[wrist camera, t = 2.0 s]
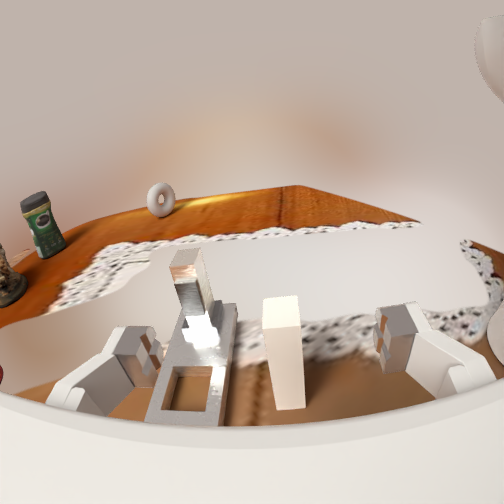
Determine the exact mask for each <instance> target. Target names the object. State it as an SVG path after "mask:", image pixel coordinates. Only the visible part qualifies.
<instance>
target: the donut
mask: <svg viewBox="0 0 504 504" xmlns="http://www.w3.org/2000/svg"><path fill="white" fill-rule="evenodd" d="M161 194H162V195H163V196H164V203H163V205H162V206H160V205H159V203H158V198H159V196H160V195H161ZM174 205H175V193H174V191H173V189H172V188H171V186H169V185H168V184H166V183H157V184H155V185H154V186H152V187H151V189H150V190H149V192H148V194H147V207H148V209H149V211H150V212H151V213H152V214H153V215H155V216H156V217H164V216H167V215H168V214H169V213H171V211H172V210H173V208H174Z"/></svg>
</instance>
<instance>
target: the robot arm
mask: <svg viewBox="0 0 504 504" xmlns="http://www.w3.org/2000/svg"><path fill="white" fill-rule="evenodd" d="M475 55H476V60H477V64H478V67H479V70H480V72H481V74H482V76H483V78H484V80H485V82H486V83H487V85H488V86H489V88H490V89H491V90H492V91H493V93H494V94H495V95H496V96H497V97H498V98H499V99H501V101H502V102H503V103H504V15H500V16H495V17H490V18H485V19H484V20H483V21H482V23H481V24H480V26H479V28H478V30H477V33H476V38H475ZM375 318H376V320H377V323H376V324H375V326H374V331H373V339H374V345H375V349H376V351H377V352H378V353H380V358H379V361H380V364H381V367H382V370H383V374H385V373H392V372H398V371H404V370H406V372H407V373H408V374H409V375H410V376H411V377H413V378H414V379H415V380H416V381H417V382H418V383H419V384H421V385H422V386H423V387H424V388H425V389H426V390H427V391H429V392H430V393H431V394H432V395H433V396H434V397H435V398H436V399H435V400H434V401H430V402H426V403H422V404H418V405H414V406H410V407H405V408H401V409H396V410H391V411H386V412H381V413H376V414H370V415H365V416H358V417H352V418H345V419H338V420H331V421H322V422H313V423H302V424H290V425H274V426H245V427H218V426H189V425H173V424H161V423H150V422H141V421H133V420H125V419H118V418H111V417H107V416H108V415H109V414H110V413H111V412H112V411H113V410H114V409H115V408H116V407H117V406H118V405H119V404H120V403H121V402H122V401H123V400H124V399H125V398H126V396H127V395H128V394H129V393H130V392H131V391H132V390H133V389H134V387H145V388H154V386H155V383H156V380H157V377H158V373H157V371H156V370H157V369H158V368H160V367H161V365H162V362H163V349H162V346H161V344H160V342H159V341H157V340H156V339H155V337H156V332H155V330H154V328H153V327H151V326H117V327H116V328H115V329H114V331H113V332H112V334H111V336H110V338H109V340H108V341H107V343H106V345H105V347H104V349H103V351H102V353H101V354H97V355H95V356H94V357H92V358H91V359H90V360H89V361H87V362H85V363H84V364H83V365H81V366H80V367H78V368H77V369H75V370H74V371H73V372H71V373H70V374H68V375H67V376H66V377H64V378H63V379H61V380H60V381H58V382H57V383H56V384H55V386H54V388H53V390H52V392H51V394H50V395H49V397H48V399H47V401H46V403H45V404H43V403H39V402H36V401H32V400H28V399H25V398H21V397H18V396H15V395H12V394H8V393H5V392H2V391H0V504H504V378H501V379H499V380H497V379H496V377H495V375H494V373H493V372H492V370H491V368H490V366H489V364H488V363H487V361H486V359H485V357H484V356H482V355H480V354H478V353H477V352H475V351H473V350H472V349H470V348H468V347H466V346H465V345H463V344H461V343H459V342H458V341H456V340H454V339H452V338H451V337H449V336H447V335H445V334H444V333H442V332H440V331H438V330H437V329H435V330H433V329H432V327H431V326H430V324H429V322H428V320H427V318H426V317H425V315H424V313H423V311H422V310H421V308H420V306H419V305H418V303H417V302H416V301H414V302H409V303H404V304H399V305H394V306H386V307H380V308H377V310H376V314H375ZM487 336H488V341H489V344H490V346H491V349H492V351H493V352H494V354H495V355H496V357H497V358H498V360H499V361H500V362H501V363H502V364H503V365H504V300H503V301H502V303H501V305H500V306H499V308H498V309H497V311H496V312H495V313H494V315H493V316H492V317H491V319H490V321H489V323H488V328H487Z"/></svg>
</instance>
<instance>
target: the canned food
mask: <svg viewBox="0 0 504 504" xmlns="http://www.w3.org/2000/svg"><path fill="white" fill-rule="evenodd" d="M2 379H3V369H2V367H1V366H0V384H1V382H2Z"/></svg>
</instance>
